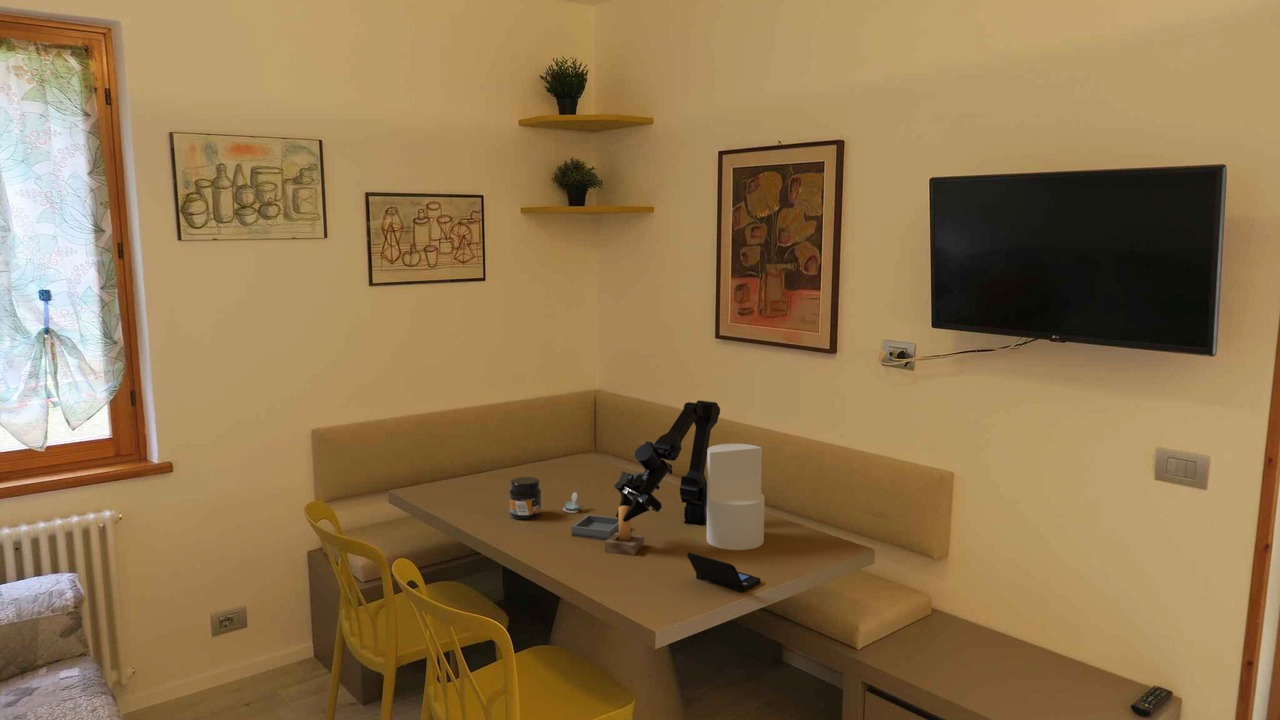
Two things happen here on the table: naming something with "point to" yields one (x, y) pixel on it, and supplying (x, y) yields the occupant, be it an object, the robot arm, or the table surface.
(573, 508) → the pacifier
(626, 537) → the pin
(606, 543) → the socket block
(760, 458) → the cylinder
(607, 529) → the tray
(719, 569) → the game console
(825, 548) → the table surface
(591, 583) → the table surface
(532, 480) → the supplement container
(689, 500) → the robot arm
